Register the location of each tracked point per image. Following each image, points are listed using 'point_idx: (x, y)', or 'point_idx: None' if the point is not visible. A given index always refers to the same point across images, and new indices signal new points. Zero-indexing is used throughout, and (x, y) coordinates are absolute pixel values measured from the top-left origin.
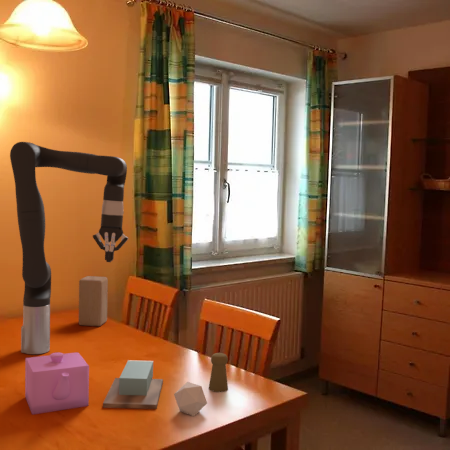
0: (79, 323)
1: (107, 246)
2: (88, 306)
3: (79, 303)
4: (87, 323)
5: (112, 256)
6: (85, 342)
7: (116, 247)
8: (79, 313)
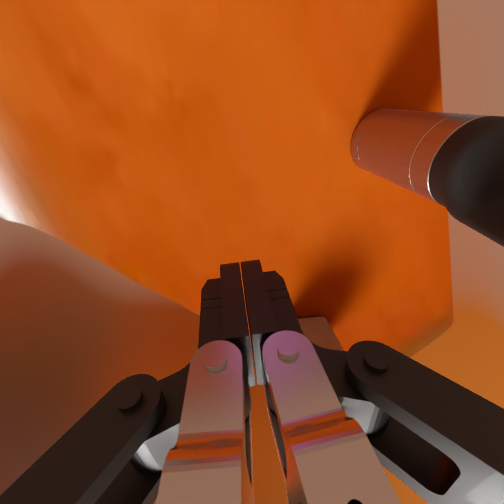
0: (324, 317)
1: (295, 402)
2: (320, 346)
3: (342, 349)
4: (309, 319)
5: (206, 311)
6: (286, 222)
7: (131, 423)
8: (332, 332)
